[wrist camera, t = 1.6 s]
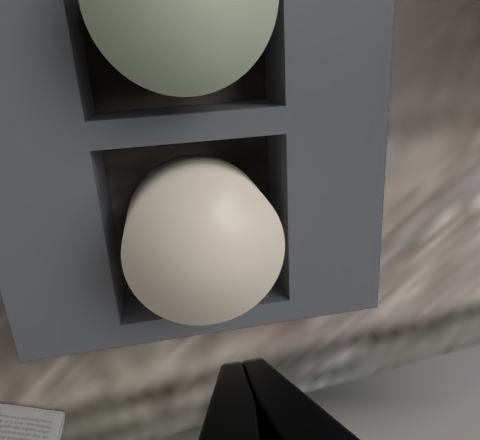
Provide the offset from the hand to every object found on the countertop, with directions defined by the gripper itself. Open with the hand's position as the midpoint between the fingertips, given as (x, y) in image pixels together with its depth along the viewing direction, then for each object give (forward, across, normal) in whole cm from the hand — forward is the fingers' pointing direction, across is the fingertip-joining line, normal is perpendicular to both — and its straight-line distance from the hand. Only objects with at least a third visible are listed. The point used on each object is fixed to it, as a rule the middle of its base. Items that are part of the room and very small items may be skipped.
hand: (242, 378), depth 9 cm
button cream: (+10, 0, 0) cm, 10 cm away
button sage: (+10, 0, -8) cm, 12 cm away
